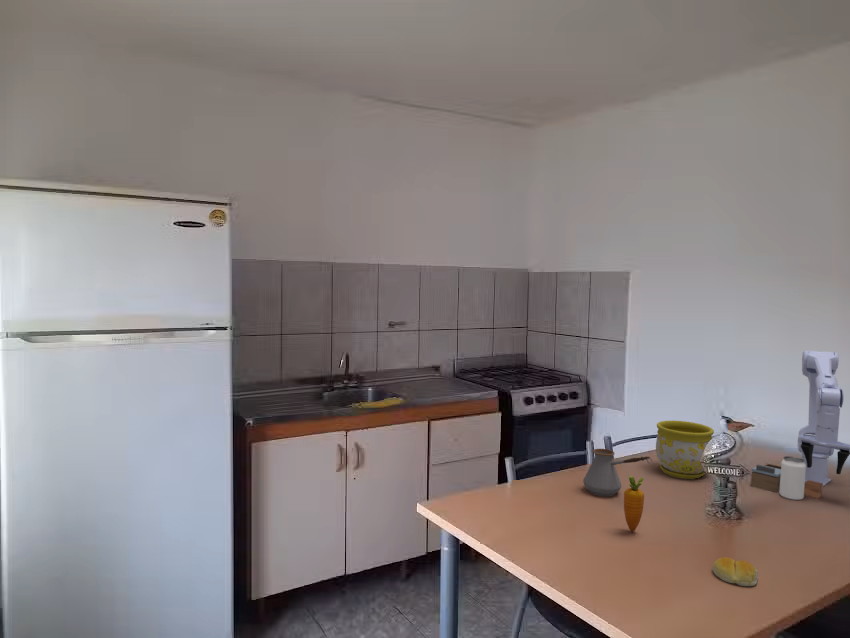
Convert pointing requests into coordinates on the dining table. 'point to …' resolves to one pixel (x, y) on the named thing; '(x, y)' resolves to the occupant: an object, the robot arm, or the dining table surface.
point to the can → (792, 478)
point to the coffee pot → (605, 473)
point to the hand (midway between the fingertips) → (823, 470)
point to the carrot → (633, 504)
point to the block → (813, 489)
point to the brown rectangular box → (766, 480)
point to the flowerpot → (682, 447)
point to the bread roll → (735, 571)
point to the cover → (767, 470)
